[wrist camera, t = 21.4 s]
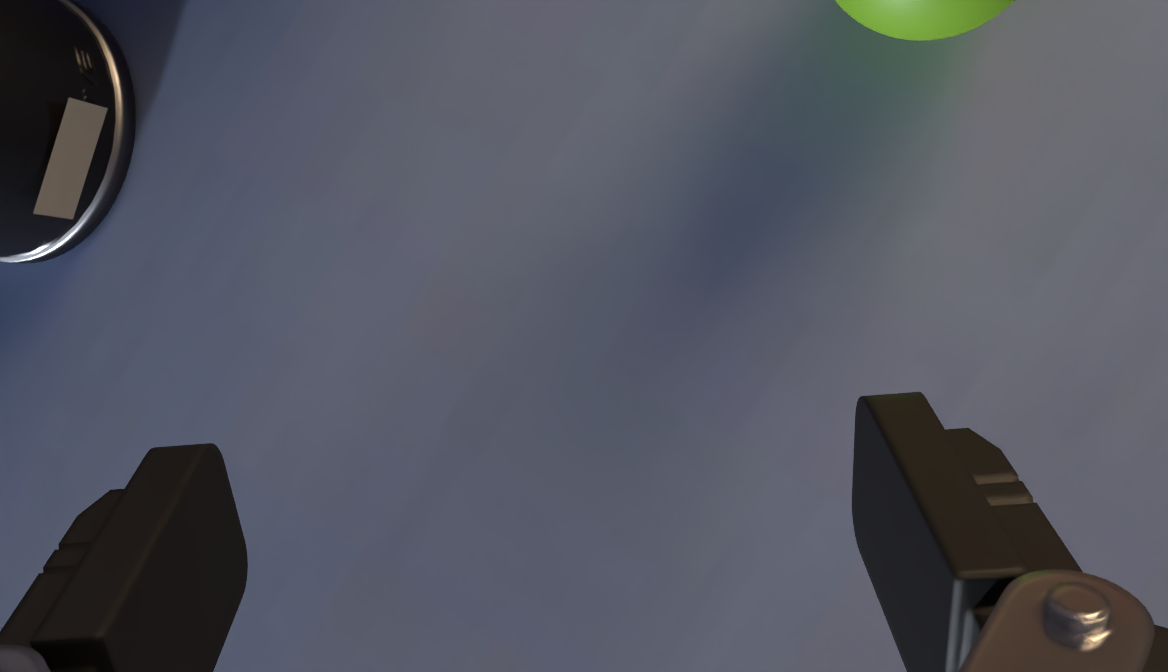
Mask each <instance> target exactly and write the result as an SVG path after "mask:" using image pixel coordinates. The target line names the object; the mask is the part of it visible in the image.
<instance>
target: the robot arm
mask: <svg viewBox="0 0 1168 672" xmlns="http://www.w3.org/2000/svg"><path fill="white" fill-rule="evenodd" d="M134 137H135V99H134V92H133V86H132V81H131V77H130V73H129V69H128V67H127V64H126V61H125V58H124V56H123V54H122V51H121V49H120V47H119V45H118V44H117V42H116V40H115V38H114V37H113V35H112V34H111V33H110V31H109V30H108V28H107V27H106V26H105V25H104V24H103V23H102V22H101V20H100V19H99V18H98V17H96V16H95V15H94V14H93V13H92V12H91V11H89V10H88V9H86V8H85V7H83V6H82V5H80V4H78V3H76V2H74V1H72V0H0V261H3V262H13V263H36V262H42V261H46V260H49V259H52V258H55V257H57V256H60V255H62V254H64V253H66V252H67V251H69V250H71V249H72V248H74V247H75V246H77V245H78V244H79V243H81V242H82V241H83V240H84V239H85V238H86V237H88V236H89V235H90V234H91V233H92V232H93V231H94V230H95V228H96V227H97V226H98V225H99V224H100V223H101V221H102V220H103V219H104V217H105V216H106V215H107V213H108V211H109V210H110V208H111V207H112V205H113V203H114V202H115V200H116V198H117V196H118V194H119V192H120V189H121V187H122V184H123V182H124V179H125V177H126V174H127V170H128V167H129V164H130V159H131V155H132V150H133V144H134ZM852 515H853V524H854V531H855V536H856V541H857V545H858V548H859V551H860V554H861V556H862V559H863V561H864V564H865V567H866V569H867V572H868V574H869V577H870V579H871V582H872V584H873V587H874V589H875V592H876V594H877V597H878V599H879V602H880V605H881V607H882V610H883V612H884V615H885V617H886V620H887V622H888V625H889V627H890V630H891V632H892V635H893V637H894V640H895V643H896V645H897V648H898V650H899V653H900V655H901V658H902V660H903V663H904V665H905V668H906V670H907V672H1168V628H1164V627H1161V626H1157V625H1154V622H1153V620H1152V617H1151V615H1150V614H1149V612H1148V610H1147V609H1146V607H1145V606H1144V605H1143V604H1142V603H1141V602H1140V601H1139V600H1138V599H1137V598H1136V597H1134V596H1133V595H1132V594H1131V593H1129V592H1128V591H1126V590H1125V589H1123V588H1122V587H1120V586H1118V585H1116V584H1114V583H1112V582H1110V581H1108V580H1106V579H1103V578H1100V577H1097V576H1095V575H1091V574H1087V573H1083V572H1082V570H1081V569H1080V567H1079V566H1078V564H1077V563H1076V561H1075V560H1074V558H1073V557H1072V555H1071V554H1070V552H1069V551H1068V549H1067V548H1066V546H1065V545H1064V543H1063V542H1062V540H1061V539H1060V537H1059V536H1058V534H1057V533H1056V531H1055V530H1054V528H1053V527H1052V525H1051V524H1050V522H1049V521H1048V519H1047V518H1046V516H1045V515H1044V513H1043V512H1042V510H1041V509H1040V507H1039V506H1038V504H1037V503H1033V497H1032V496H1031V494H1030V493H1029V491H1028V490H1027V488H1026V487H1025V485H1024V484H1023V482H1022V481H1019V479H1018V475H1017V473H1016V472H1015V470H1014V469H1013V467H1012V466H1011V464H1010V463H1009V461H1008V460H1007V458H1006V457H1005V455H1004V454H1003V452H1002V451H1001V449H999V448H998V447H996V446H995V445H993V444H992V443H990V442H989V441H987V440H986V439H984V438H983V437H981V436H980V435H978V434H977V433H975V432H974V431H972V430H971V429H969V428H961V429H948V430H945V429H944V427H943V426H942V424H941V422H940V421H939V419H938V417H937V416H936V414H935V413H934V411H933V409H932V408H931V406H930V404H929V403H928V401H927V399H926V398H925V396H924V395H923V394H922V393H921V392H912V393H898V394H885V395H872V396H861V397H860V398H859V399H858V402H857V406H856V415H855V438H854V462H853V486H852ZM247 569H248V562H247V550H246V544H245V539H244V536H243V532H242V528H241V524H240V520H239V517H238V513H237V509H236V505H235V501H234V498H233V494H232V490H231V486H230V482H229V479H228V475H227V471H226V467H225V463H224V460H223V457H222V454H221V452H220V450H219V449H218V447H217V446H216V445H214V444H212V443H208V444H195V445H182V446H168V447H155V448H152V449H150V450H149V451H148V453H147V454H146V455H145V457H144V459H143V460H142V462H141V463H140V465H139V467H138V468H137V470H136V471H135V473H134V475H133V476H132V478H131V479H130V481H129V483H128V484H127V486H126V487H125V489H116V490H110V491H109V492H107V493H106V494H105V495H103V496H102V497H101V498H100V499H98V500H97V501H96V502H95V503H93V504H92V505H91V506H89V507H88V508H87V509H86V510H84V511H83V512H82V513H81V514H79V515H78V516H77V517H76V519H75V520H74V522H73V523H72V525H71V526H70V528H69V529H68V531H67V532H66V534H65V535H64V537H63V538H62V540H61V541H60V543H59V550H54V552H53V553H52V555H51V556H50V558H49V559H48V561H47V562H46V564H45V565H44V567H43V573H39V574H38V576H37V577H36V579H35V580H34V582H33V583H32V585H31V586H30V588H29V589H28V591H27V592H26V594H25V595H24V597H23V598H22V600H21V601H20V603H19V604H18V606H17V607H16V609H15V610H14V612H13V613H12V615H11V616H10V618H9V619H8V621H7V622H6V624H5V625H4V627H3V628H2V630H1V631H0V672H213V670H214V668H215V665H216V663H217V660H218V658H219V655H220V653H221V650H222V648H223V645H224V643H225V640H226V637H227V635H228V632H229V630H230V627H231V625H232V622H233V620H234V617H235V615H236V612H237V610H238V607H239V604H240V602H241V599H242V597H243V594H244V591H245V587H246V581H247Z"/></svg>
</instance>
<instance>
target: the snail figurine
mask: <svg viewBox="0 0 1168 672" xmlns="http://www.w3.org/2000/svg"><path fill="white" fill-rule="evenodd" d="M835 1H836V2H837V3H838V5H839V6H840V7H841V8H842V9H843V10H844V11H845V12H846V13H847V14H849V15H850V16H851V17H852V18H854V19H855V20H856V21H858V22H859V23H861V24H862V25H864V26H866V27H868V28H870V29H872V30H874V31H876V32H879V33H881V34H884V35H887V36H891V37H895V38H899V39H906V40H935V39H942V38H947V37H951V36H955V35H958V34H961V33H964V32H967V31H969V30H972V29H974V28H976V27H978V26H980V25H982V24H984V23H986V22H987V21H989V20H991V19H992V18H994V17H995V16H997V15H998V14H999V13H1001V12H1002V11H1003V10H1005V9H1006V8H1007V7H1008V6H1009V5H1010V4H1011V3H1013V2H1014V1H1015V0H835Z"/></svg>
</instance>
